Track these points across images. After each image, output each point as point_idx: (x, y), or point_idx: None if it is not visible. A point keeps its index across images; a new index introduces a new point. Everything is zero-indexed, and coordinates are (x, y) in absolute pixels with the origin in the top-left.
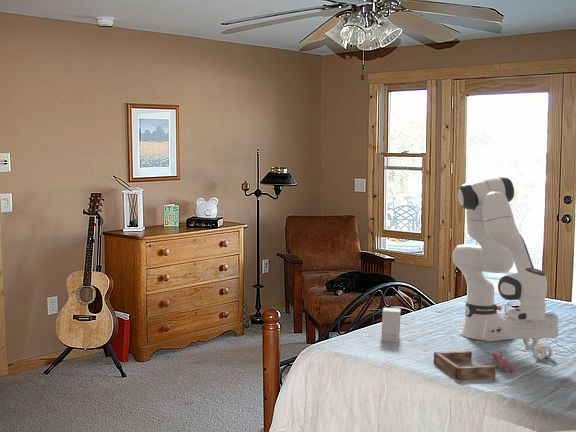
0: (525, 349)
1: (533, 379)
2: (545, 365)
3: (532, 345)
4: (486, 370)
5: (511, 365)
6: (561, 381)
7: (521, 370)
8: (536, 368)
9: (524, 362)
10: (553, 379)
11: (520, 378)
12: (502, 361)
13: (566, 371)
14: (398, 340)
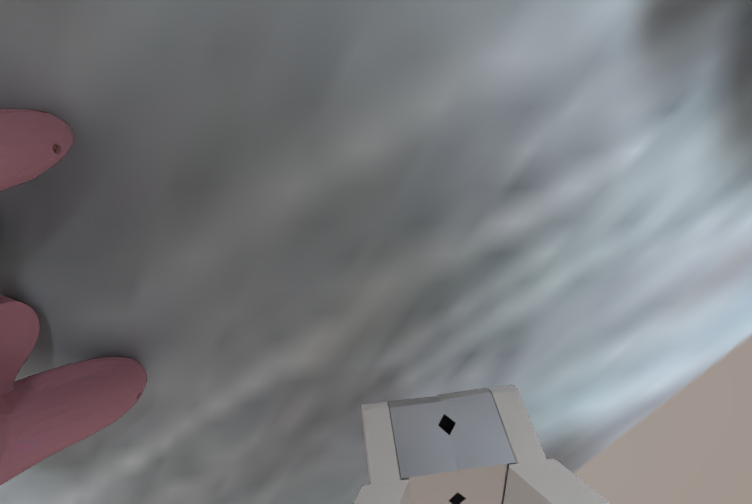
0: (361, 406)
1: (270, 488)
2: (655, 164)
3: (502, 499)
4: None
5: (83, 438)
6: None
7: (248, 323)
8: (461, 264)
9: (445, 21)
10: None
11: (163, 480)
12: None
13: (705, 334)
14: None
